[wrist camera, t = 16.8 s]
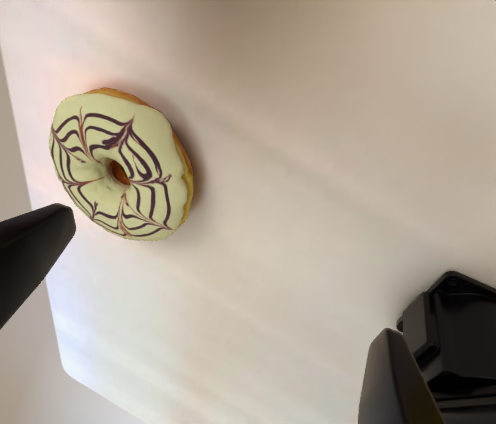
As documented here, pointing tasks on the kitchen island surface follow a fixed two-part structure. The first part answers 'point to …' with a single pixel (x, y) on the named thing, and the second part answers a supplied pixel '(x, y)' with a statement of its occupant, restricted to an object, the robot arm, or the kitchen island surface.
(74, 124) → the decorated donut
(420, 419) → the robot arm
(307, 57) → the kitchen island surface
